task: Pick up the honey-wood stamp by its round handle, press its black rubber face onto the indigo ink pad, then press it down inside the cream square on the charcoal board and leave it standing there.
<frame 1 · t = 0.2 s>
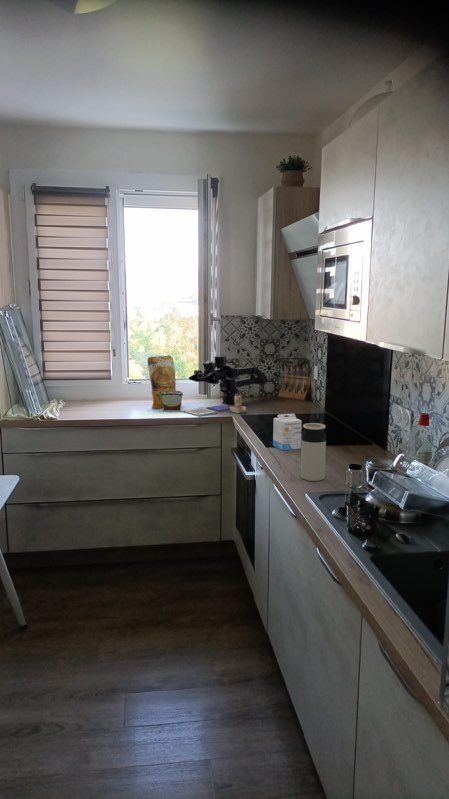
hand: (193, 379, 293), 17 cm above the countertop, tool horizontal, fingers open, 9 cm apart
food container: (173, 410, 296), on the countertop
ink pad: (220, 409, 296), on the countertop
travel mug: (312, 478, 184), on the countertop
pancake mix bag: (163, 406, 305), on the countertop
ink box: (286, 447, 222), on the countertop
stamp: (238, 412, 289), on the countertop
marked board: (199, 412, 288), on the countertop
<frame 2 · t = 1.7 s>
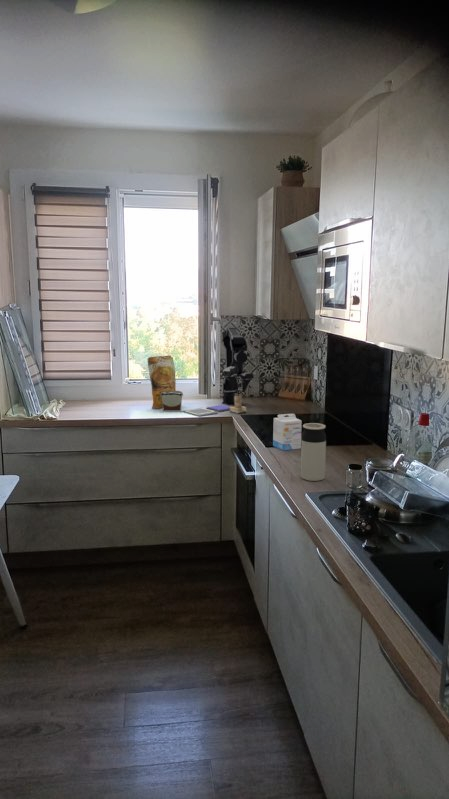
hand: (237, 390, 287), 11 cm above the countertop, tool pointing down, fingers open, 9 cm apart
nothing on the countertop moved.
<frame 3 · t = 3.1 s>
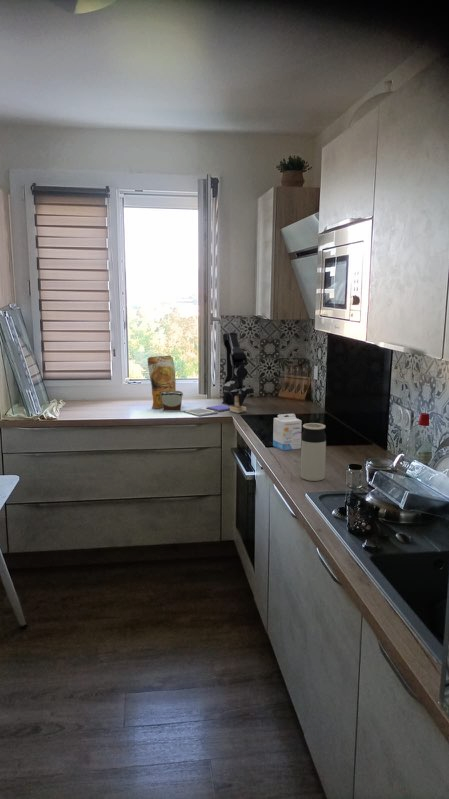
hand: (238, 405, 288), 4 cm above the countertop, tool pointing down, fingers closed on stamp, 4 cm apart
stamp: (238, 412, 289), on the countertop, touching gripper
everything else where it was.
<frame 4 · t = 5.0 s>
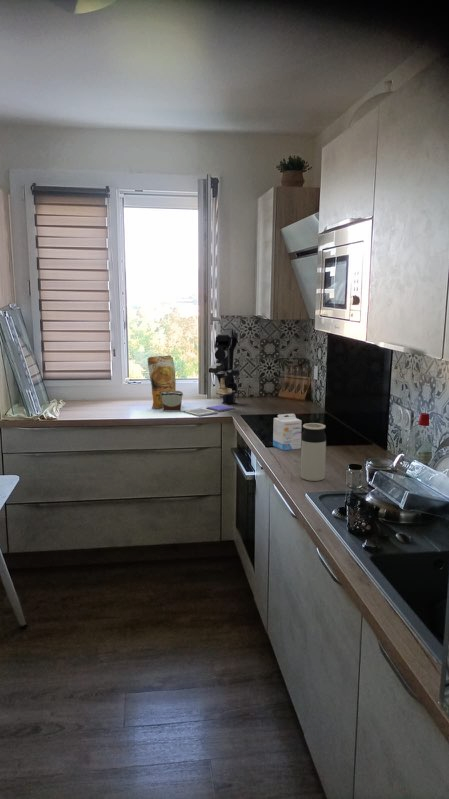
hand: (223, 387, 293), 12 cm above the countertop, tool pointing down, fingers closed on stamp, 4 cm apart
stamp: (223, 394, 294), point 9 cm above the countertop, touching gripper
everything else where it was.
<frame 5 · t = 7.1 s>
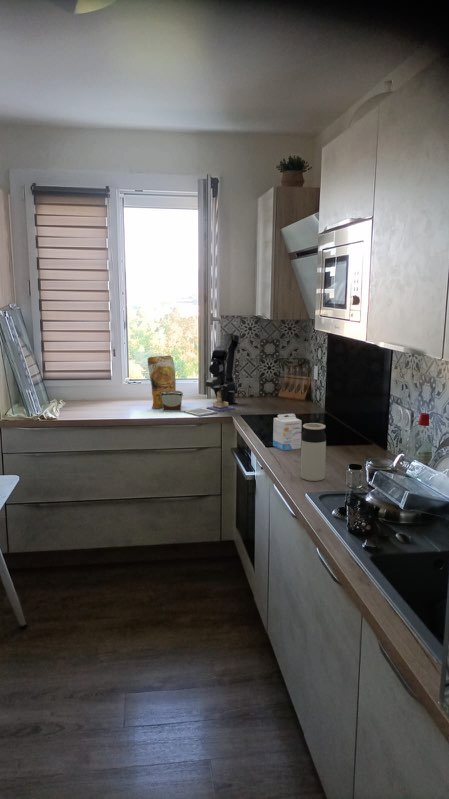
hand: (220, 400, 296), 5 cm above the countertop, tool pointing down, fingers closed on stamp, 4 cm apart
stamp: (220, 407, 296), point 1 cm above the countertop, touching gripper, ink pad
everything else where it was.
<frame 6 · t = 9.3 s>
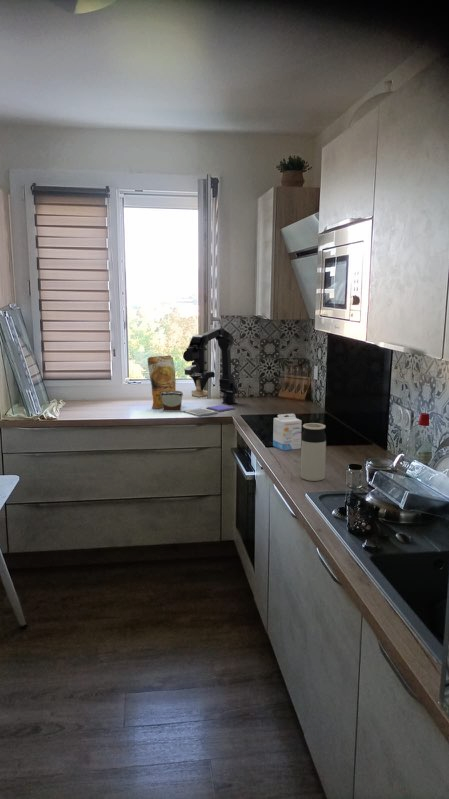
hand: (199, 389, 285), 12 cm above the countertop, tool pointing down, fingers closed on stamp, 4 cm apart
stamp: (199, 396, 286), point 9 cm above the countertop, touching gripper
everything else where it was.
when the fingers open (4 cm above the countertop, at t = 11.0 s): stamp stays where it is, resting on marked board.
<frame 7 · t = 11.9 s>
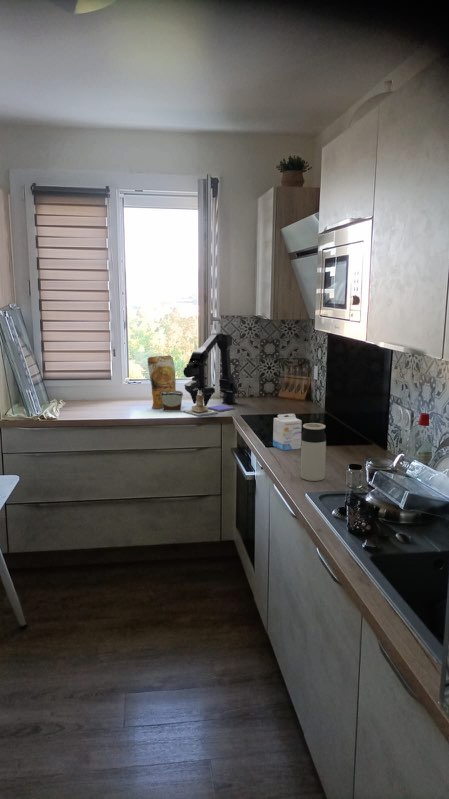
hand: (199, 404, 287), 4 cm above the countertop, tool pointing down, fingers open, 9 cm apart
stamp: (200, 411, 288), point 1 cm above the countertop, touching marked board
everything else where it was.
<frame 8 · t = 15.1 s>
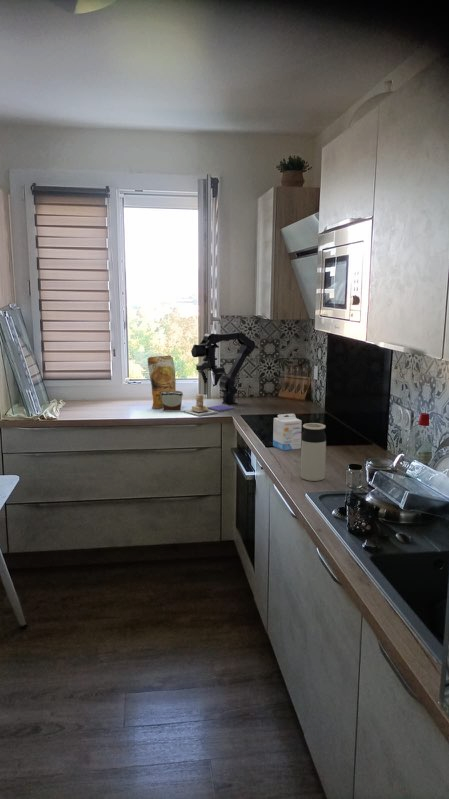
hand: (210, 384, 304), 12 cm above the countertop, tool pointing down, fingers open, 9 cm apart
nothing on the countertop moved.
at the end: stamp 0.0 cm off-centre on the marked board, point 0.6 cm above the marked board's base; stamp tilted 0°; the gripper is holding nothing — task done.
